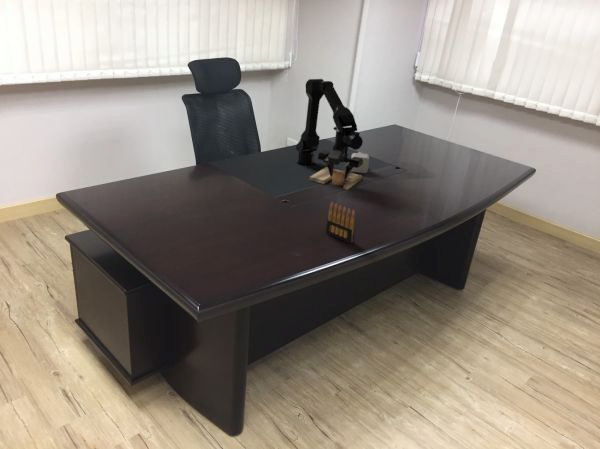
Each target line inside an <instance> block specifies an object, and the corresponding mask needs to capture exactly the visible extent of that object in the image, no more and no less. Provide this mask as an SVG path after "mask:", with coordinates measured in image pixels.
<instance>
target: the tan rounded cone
mask: <svg viewBox="0 0 600 449" xmlns="http://www.w3.org/2000/svg"><path fill="white" fill-rule="evenodd" d="M343 171H344V170H341V171H333V177H332V179H331V184H332V185H334V186H343V185H345V180H344V174H345V173H344V172H343Z"/></svg>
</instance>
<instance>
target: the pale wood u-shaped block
mask: <svg viewBox="0 0 600 449" xmlns="http://www.w3.org/2000/svg"><path fill="white" fill-rule="evenodd" d="M347 165H348V163H346V164H345V166H347ZM345 166H344V170H340V169H336V168H333V171H343V172H344V173H345V172H346V167H345ZM332 177H333V175H332V176H330V173H329V169H328V166H324V168H322V169H320V170H319V171H317V172H315V173H314V174H312V175H310V176H309V181H311V182H314V183H319V184H323V185H325V184H327V183H328V182H329V181H332ZM362 178H363V175H361V174H357V173H355V172H350V173H349V175H348V177H347V179H346V180H345V174H344V181H347V182H345V183H344V184H343V185H342V186H343V187H342V188H343V190H347V191H348V190H349V189H350V188H352V187H353V186H355V185H356V184H358V182H360V181H361V180H362Z"/></svg>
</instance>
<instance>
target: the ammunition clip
mask: <svg viewBox="0 0 600 449" xmlns="http://www.w3.org/2000/svg"><path fill="white" fill-rule="evenodd" d="M355 215H356V211H355V209H353V210H352V211H351V208H350V207H348V208H347V207H346V205H344V206H343V208H342V204H339V206H338V203H337V202H336V203H335V204H334V202H333V201H331V203H330V204H329V211H328V215H327V216H328V217H327V218H328V219H327V220H326V225H325V226H326V227H325V234H326V233H327V235H328V234H329V235H328V236H331V237H333V236H334V238H336V237H337V238H336V239H338V238H339V239H338V240H340V239H342V240H341V241H343V240H344V241H343V242H345V241H346V242H345V243H347V242H348V243H347V244H350V243H351V244H353V243H355V230H356V228H355V223H356V221H355V220H356V219H355ZM352 242H353V243H352Z"/></svg>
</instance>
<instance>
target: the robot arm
mask: <svg viewBox="0 0 600 449" xmlns="http://www.w3.org/2000/svg"><path fill="white" fill-rule="evenodd" d="M305 94H306V96H307V98H308V101H307V111H306V120H305V129H304V131H302V134H301V135H300V139H299V141H298V142H297V143H296V145H295V149H296V151H297V152H298V161H297V162H296V164H298V165H303V166H306V167H309V166H311V165H313V164H315V154H314V153H315V152H317V150H318V149H319V148H318V147H319V145H320V135H318V133H317V126H318V120H319V119H318V116H319V108H320V101H321V99H322V98H323V96H324V97H325V99H326V101H327V103H328V105H329V107H330V109H331V111H332V120H333V122H334V125H335V126H334V127H333V130H334V131H335V139H334V140H335V141H334V145H333V147H332V150H331V151H330V150H326V149H324V150H321V151H320V152H318V153H317V159H318V160H320V161H322V162H323V163H325V164H326V167H328V169H329V173H330V176H332V175H333V169H335V168H334V167H335V166H338V165H339V164H340V163H346V164H348V165H347V166H344V168H345V167H346V172H345V180H344V181H347V180H346V179H347V177H348V175H349V173H351V172H352V171H351V170H352V168H354V167H355V168H359V167H360V166H361V165H363V160H362V158H358V157H353V158H352V159H351V158H350V157H349V148H350V149H352V150H355V151H356V150H357V151H358V150H359V149H360V148H361V147H362V145H363V142H364V140H363V138H362V136H360V132H358V125H357V123H356V120H355V115H354V114H353V112H352V111H351V109H349V108H348V107H346V106H344V104H343V102H342V100H341V98H340V96H339V95H338V93H337V91H336V88H335V87H334V83H333V81H330V80H326V81H325V80H324V79H323V78H309V79H307V81H306V82H305Z"/></svg>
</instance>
